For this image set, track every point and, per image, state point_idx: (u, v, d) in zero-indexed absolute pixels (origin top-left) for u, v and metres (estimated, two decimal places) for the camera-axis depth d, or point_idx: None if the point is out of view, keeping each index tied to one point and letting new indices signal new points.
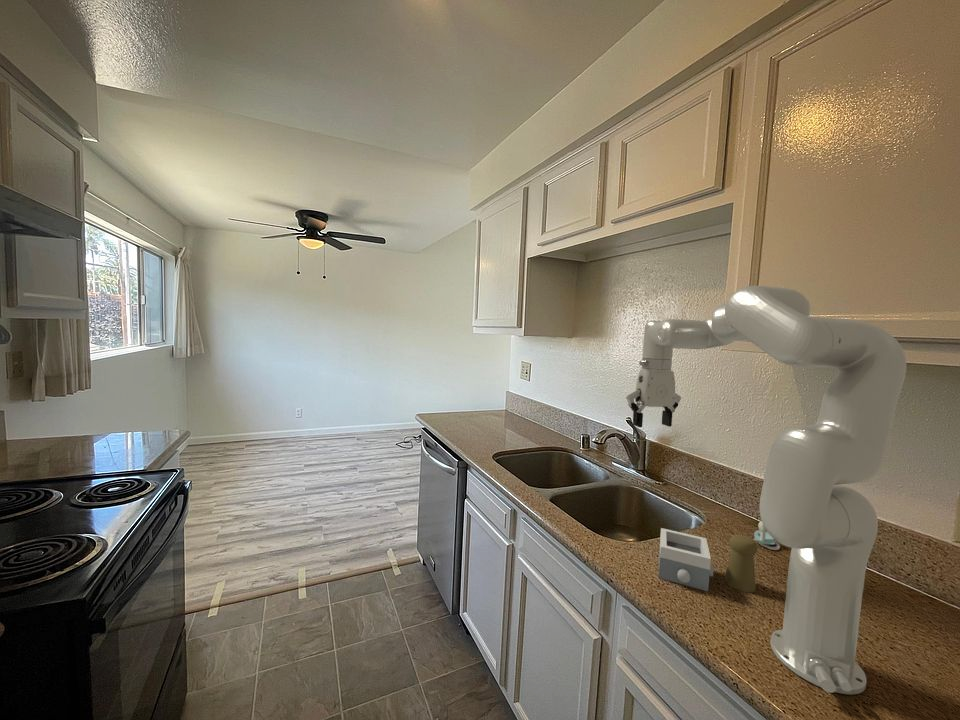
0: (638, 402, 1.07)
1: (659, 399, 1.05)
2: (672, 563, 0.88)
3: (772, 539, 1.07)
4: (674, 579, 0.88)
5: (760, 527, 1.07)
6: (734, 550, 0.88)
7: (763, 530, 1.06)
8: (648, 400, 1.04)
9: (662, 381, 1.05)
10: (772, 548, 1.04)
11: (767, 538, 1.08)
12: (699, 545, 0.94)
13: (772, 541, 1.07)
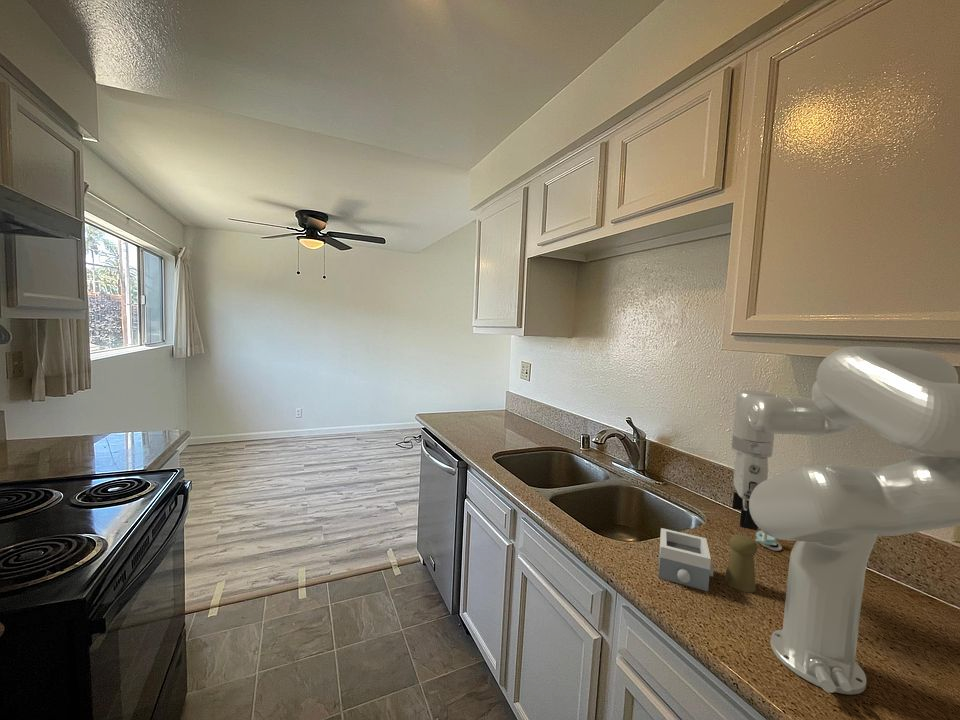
0: (748, 498, 0.84)
1: None
2: (672, 563, 0.88)
3: (774, 540, 1.07)
4: (674, 579, 0.88)
5: None
6: (734, 550, 0.88)
7: None
8: None
9: None
10: (774, 549, 1.04)
11: (769, 539, 1.08)
12: (699, 545, 0.94)
13: (774, 542, 1.06)
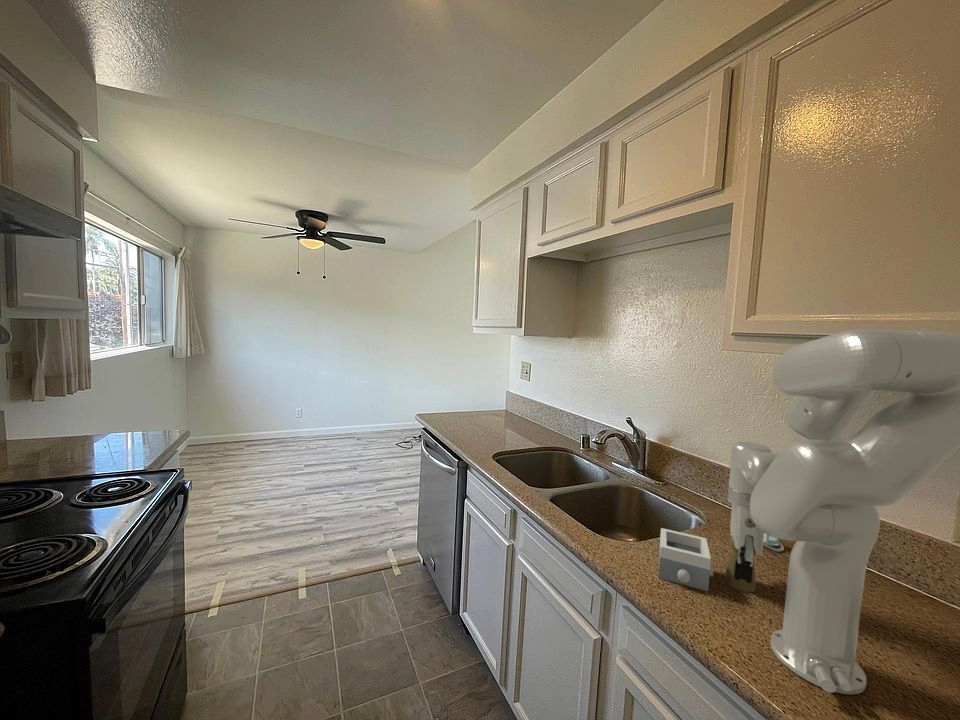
0: None
1: None
2: (672, 563, 0.88)
3: (776, 540, 1.07)
4: (674, 579, 0.88)
5: None
6: (734, 550, 0.88)
7: None
8: (762, 549, 0.83)
9: None
10: (776, 549, 1.03)
11: (771, 539, 1.08)
12: (699, 545, 0.94)
13: (776, 542, 1.06)
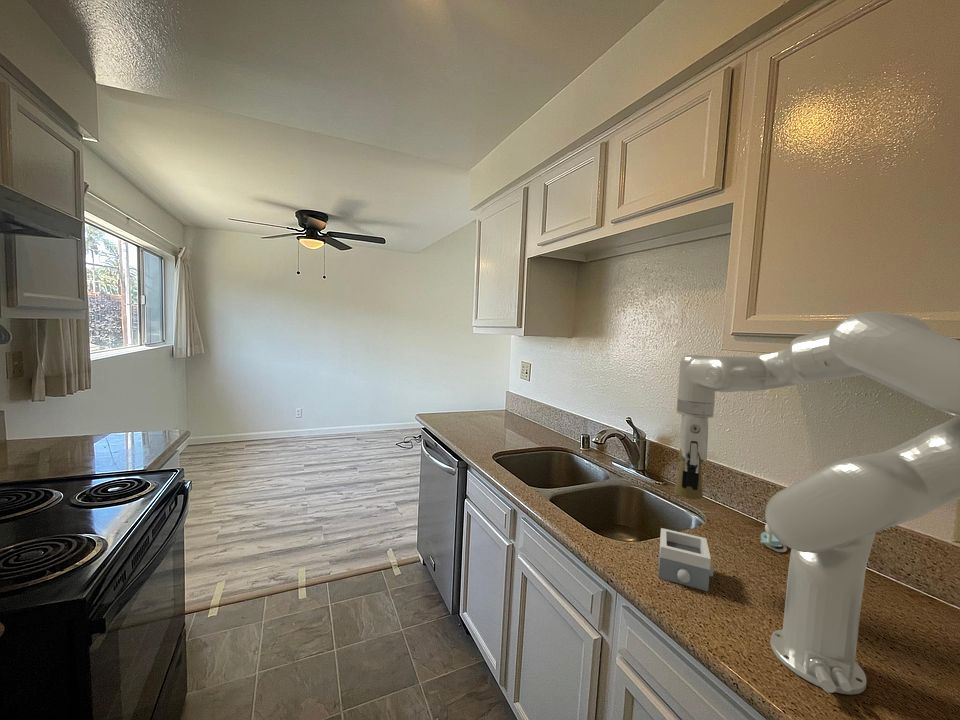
0: (689, 460, 0.88)
1: None
2: (672, 563, 0.88)
3: (779, 541, 1.06)
4: (674, 579, 0.88)
5: (767, 529, 1.06)
6: (682, 460, 0.90)
7: (770, 532, 1.05)
8: (706, 454, 0.85)
9: None
10: (779, 550, 1.03)
11: (774, 540, 1.07)
12: (699, 545, 0.94)
13: (779, 543, 1.06)
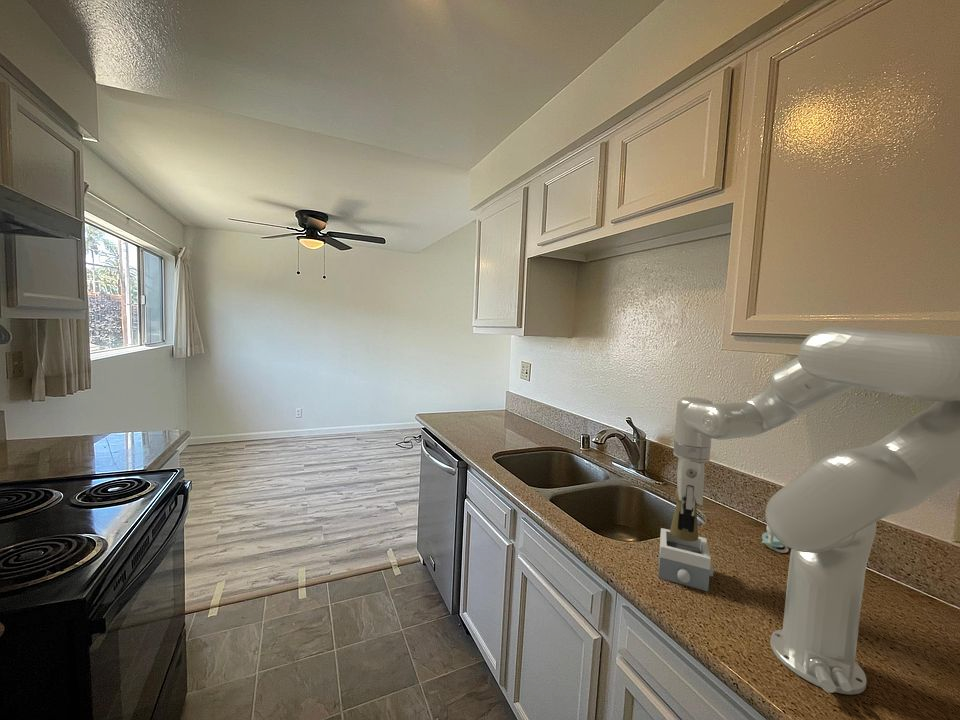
0: (685, 503, 0.88)
1: None
2: (672, 563, 0.88)
3: (780, 542, 1.06)
4: (674, 579, 0.88)
5: (768, 529, 1.06)
6: (678, 501, 0.91)
7: (771, 532, 1.05)
8: (702, 498, 0.86)
9: None
10: (781, 551, 1.03)
11: (775, 540, 1.07)
12: (699, 545, 0.94)
13: (780, 544, 1.05)
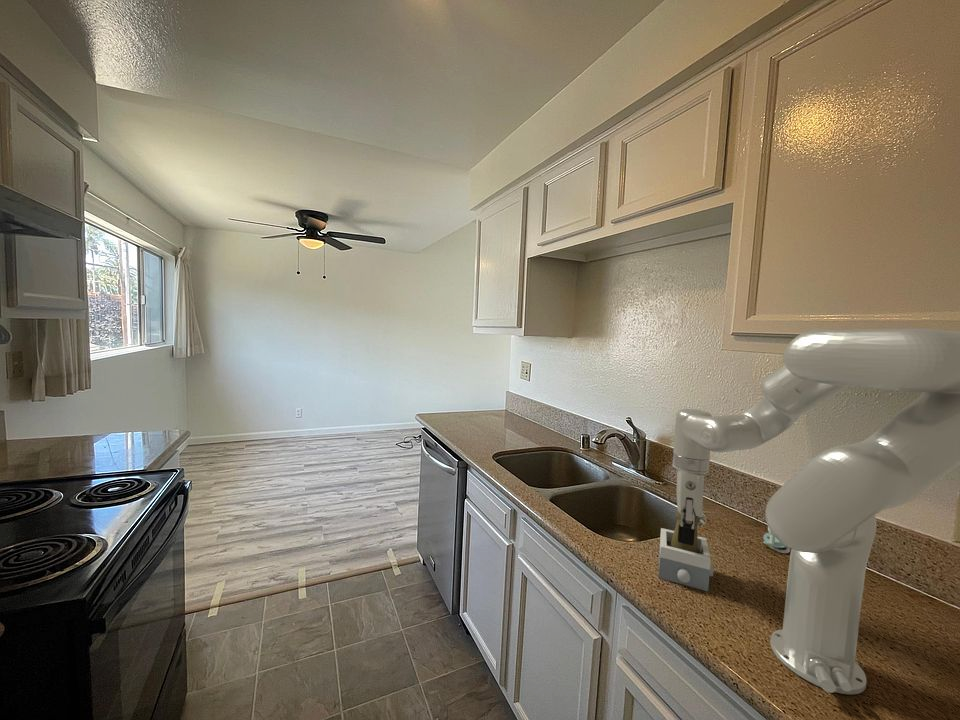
0: (685, 515, 0.88)
1: None
2: (672, 563, 0.88)
3: None
4: (674, 579, 0.88)
5: None
6: (679, 519, 0.91)
7: None
8: None
9: None
10: (782, 551, 1.03)
11: (777, 541, 1.07)
12: (699, 545, 0.94)
13: (782, 544, 1.05)
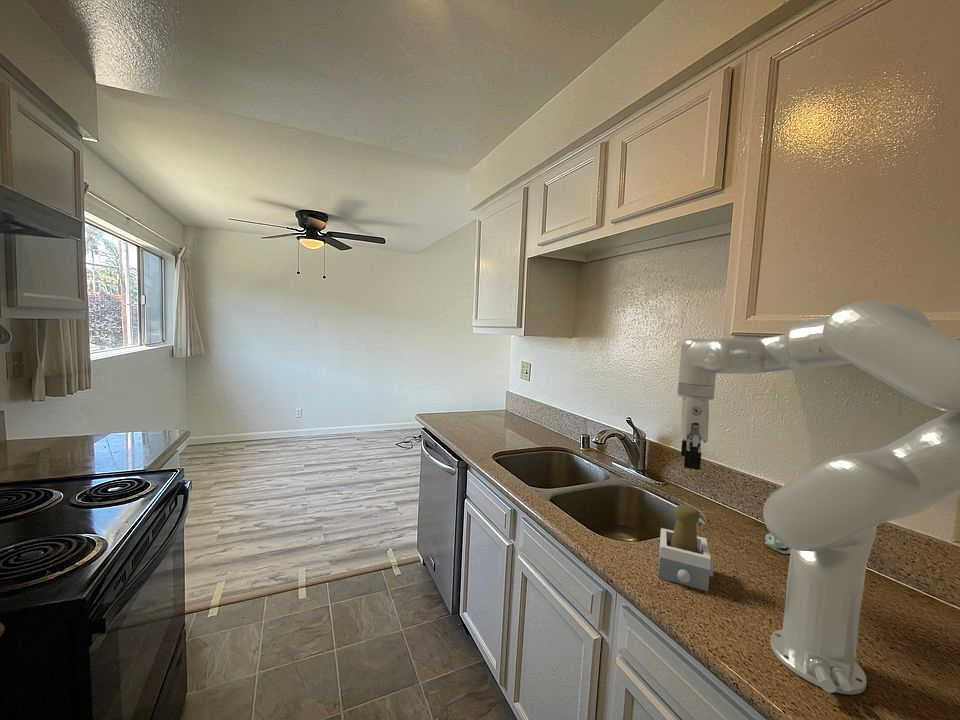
0: (691, 439, 0.87)
1: None
2: (672, 563, 0.88)
3: None
4: (674, 579, 0.88)
5: None
6: (678, 519, 0.91)
7: None
8: (707, 436, 0.87)
9: None
10: (784, 552, 1.02)
11: (778, 541, 1.07)
12: (699, 545, 0.94)
13: (784, 545, 1.05)
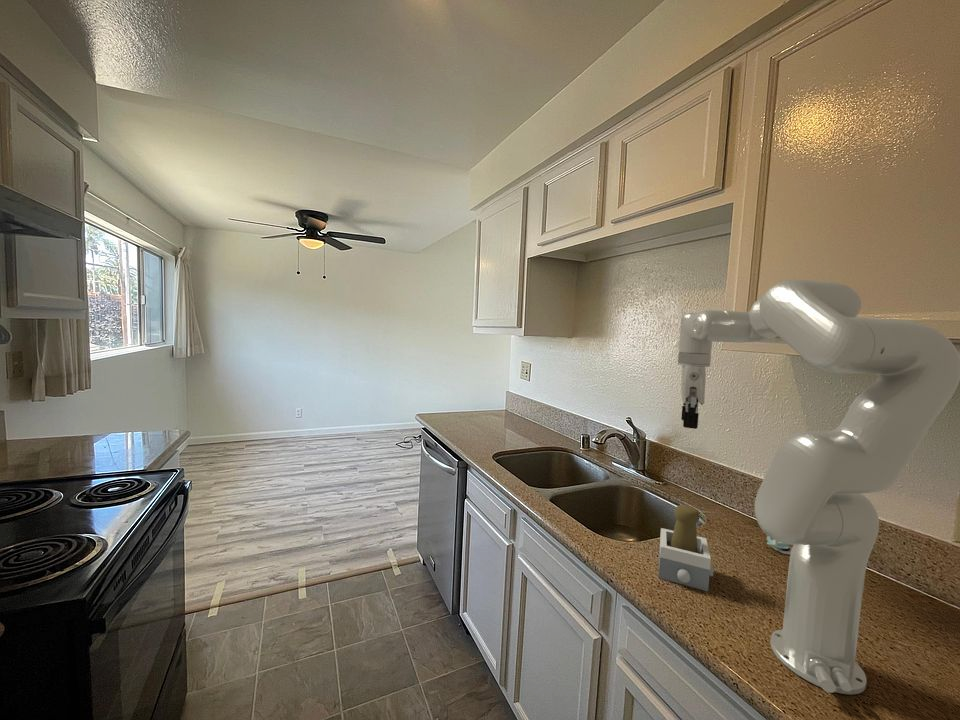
0: (690, 402, 0.98)
1: None
2: (672, 563, 0.88)
3: None
4: (674, 579, 0.88)
5: None
6: (678, 519, 0.91)
7: None
8: None
9: None
10: (786, 552, 1.02)
11: (780, 542, 1.06)
12: (699, 545, 0.94)
13: (785, 545, 1.05)
